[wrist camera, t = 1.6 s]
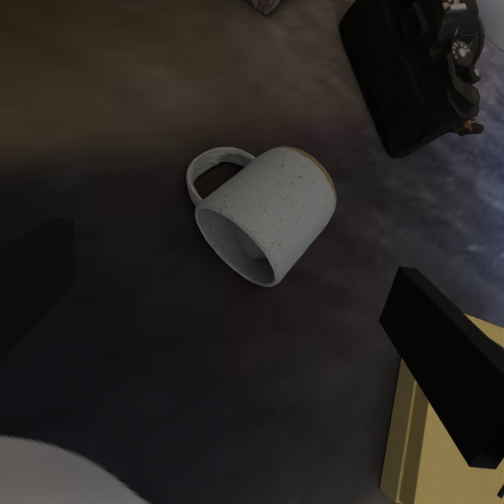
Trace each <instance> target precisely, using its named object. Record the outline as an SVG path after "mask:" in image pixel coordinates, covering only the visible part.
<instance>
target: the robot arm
mask: <svg viewBox="0 0 504 504" xmlns="http://www.w3.org/2000/svg"><path fill="white" fill-rule="evenodd" d="M76 283H77V279H76V259H75V240H74V220H71V219H64V218H57V217H52V218H50V219H48V220H47V221H45V222H43V223H41V224H40V225H38V226H36V227H35V228H33V229H31V230H30V231H28V232H26V233H24V234H23V235H21V236H19V237H18V238H16V239H14V240H12V241H11V242H9V243H7V244H6V245H4V246H2V247H0V363H1V362H2V361H3V360H4V359H5V358H6V357H7V356H8V355H9V353H10V352H11V351H12V350H13V349H14V348H15V347H16V346H17V345H18V344H19V343H20V342H21V341H22V340H23V339H24V338H25V337H26V335H27V334H28V333H29V332H30V331H31V330H32V329H33V328H34V327H35V326H36V325H37V324H38V323H39V322H40V321H41V320H42V319H43V317H44V316H45V315H46V314H47V313H48V312H49V311H50V310H51V309H52V308H53V307H54V306H55V305H56V304H57V303H58V302H59V301H60V300H61V298H62V297H63V296H64V295H65V294H66V293H67V292H68V291H69V290H70V289H71V288H72V287H73V286H74V285H75V284H76ZM379 322H380V324H381V325H382V327H383V329H384V330H385V332H386V333H387V335H388V337H389V338H390V340H391V341H392V343H393V345H394V346H395V348H396V350H397V351H398V353H399V354H400V356H401V358H402V359H403V361H404V362H405V364H406V366H407V367H408V369H409V371H410V372H411V374H412V375H413V377H414V379H415V380H416V382H417V384H418V385H419V387H420V388H421V390H422V392H423V393H424V395H425V396H426V398H427V400H428V401H429V403H430V405H431V406H432V408H433V409H434V411H435V413H436V414H437V416H438V417H439V419H440V421H441V422H442V424H443V426H444V427H445V429H446V430H447V432H448V434H449V435H450V437H451V438H452V440H453V442H454V443H455V445H456V447H457V448H458V450H459V451H460V453H461V455H462V456H463V458H464V459H465V461H466V463H467V464H468V466H469V467H473V468H484V469H495V470H496V469H497V467H498V466H499V464H500V463H501V461H502V460H503V458H504V348H503V347H502V346H501V345H499V344H498V343H496V342H495V341H493V340H492V339H490V338H489V337H488V336H487V335H486V334H485V333H484V332H483V331H481V330H480V329H479V328H478V327H477V326H476V325H475V324H474V323H473V322H472V321H471V320H470V319H469V318H468V317H467V316H466V315H465V314H464V313H463V312H462V311H461V310H459V309H458V308H457V307H456V306H455V305H454V304H453V303H452V302H451V301H450V300H449V299H448V298H447V297H446V296H445V295H444V294H443V293H442V292H441V291H440V290H439V289H437V288H436V287H435V286H434V285H433V284H432V283H431V282H430V281H429V280H428V279H427V278H426V277H425V276H424V275H423V274H422V273H421V272H420V271H419V270H418V269H416V268H409V267H402V266H399V268H398V271H397V274H396V276H395V279H394V282H393V284H392V287H391V290H390V292H389V295H388V298H387V300H386V303H385V306H384V309H383V311H382V314H381V317H380V319H379ZM497 496H498V497H500V498H501V499H502V497H503V496H504V484H503V486H502V487H501V489H500V490H499V492H498V494H497Z"/></svg>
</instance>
